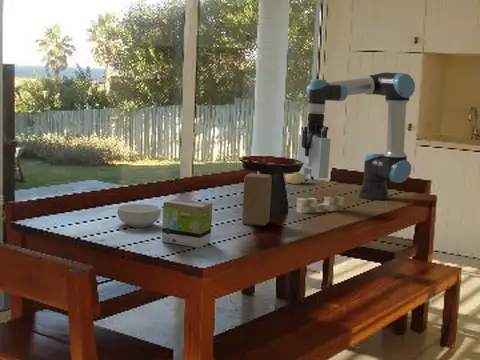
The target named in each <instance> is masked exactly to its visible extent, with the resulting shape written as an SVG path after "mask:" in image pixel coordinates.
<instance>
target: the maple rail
mask: <svg viewBox="0 0 480 360" xmlns="http://www.w3.org/2000/svg"><path fill="white" fill-rule="evenodd" d="M344 205H345V197H343V196H339V195H337V196H336V195H334V196H324V197H323V202H322V203H318V199H317V198H314V197H301V198H297V197H296V208H295V209H296V210H295V212H297V213H300V214H311V213H326V212H339V211H341V212H342V211H344Z"/></svg>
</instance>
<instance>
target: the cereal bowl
mask: <svg viewBox="0 0 480 360" xmlns="http://www.w3.org/2000/svg"><path fill="white" fill-rule="evenodd" d="M161 210H162V209H161V207H160V206H159V205H154V204H147V203H146V204H145V203H142V204H141V203H133V204H131V203H130V204H129V203H128V204H123V205H119V206H118V207H117V217H118V219H119V220H120V222H122V223H124V224H126V225H128V226H129V227H131V228H146V227H149V226H150V225H151V224H154V223H156V222H158V220H159V219H160V217H161Z"/></svg>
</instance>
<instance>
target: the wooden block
mask: <svg viewBox="0 0 480 360" xmlns="http://www.w3.org/2000/svg"><path fill="white" fill-rule="evenodd" d="M243 179H244V180H243V193H242V194H243V196H242V198H243V199H242V217H241V223H242V224H243V225H250V226H260V227H265V226H266V225H267V224H268V223H269V222H270V220H271V219H270V215H271V198H272V183H273V182H272V179H273V176H272V175H271V174H265V173H255V172H253V173H252V172H250V173H248V174H246V175H245V176H244V177H243Z"/></svg>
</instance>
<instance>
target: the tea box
mask: <svg viewBox="0 0 480 360" xmlns="http://www.w3.org/2000/svg"><path fill="white" fill-rule="evenodd" d="M212 216H213V203H212V202H203V201H197V200H189V199H183V198H174V199H171V200H168V201H164V202H163V209H162V226H161V227H162V229H161V230H162V232H161V242H162V243H167V244H168V243H169V244H175V245H182V246H186V247H193V248H198V249H199V248H202V247H204V246H206V245H207V244H210V242H211V239H212V238H211V235H212V221H213V220H212V219H213V217H212Z"/></svg>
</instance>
